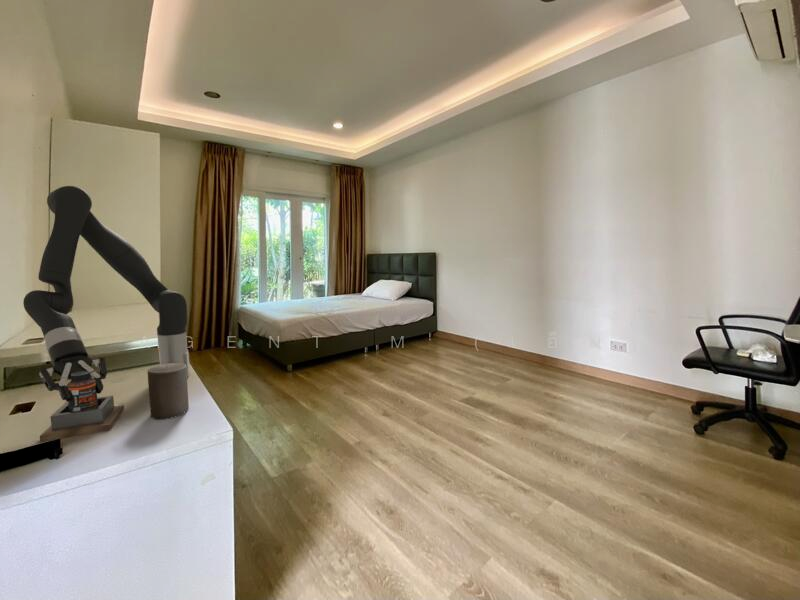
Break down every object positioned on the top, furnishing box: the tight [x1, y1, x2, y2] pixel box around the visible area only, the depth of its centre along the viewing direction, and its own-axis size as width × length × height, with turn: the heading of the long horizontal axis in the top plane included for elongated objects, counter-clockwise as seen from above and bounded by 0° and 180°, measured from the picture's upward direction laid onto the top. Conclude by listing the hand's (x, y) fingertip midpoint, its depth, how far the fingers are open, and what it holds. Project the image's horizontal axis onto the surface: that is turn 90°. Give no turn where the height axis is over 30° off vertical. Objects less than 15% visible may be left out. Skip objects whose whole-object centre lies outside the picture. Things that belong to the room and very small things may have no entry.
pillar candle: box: [147, 363, 190, 420], centre depth 105 cm, size 10×10×15 cm
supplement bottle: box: [66, 371, 98, 412], centre depth 97 cm, size 6×6×11 cm
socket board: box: [39, 405, 125, 442], centre depth 98 cm, size 14×14×2 cm
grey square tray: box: [50, 395, 115, 431], centre depth 98 cm, size 10×10×4 cm
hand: (84, 395), depth 96 cm, fingers closed on supplement bottle, 6 cm apart
